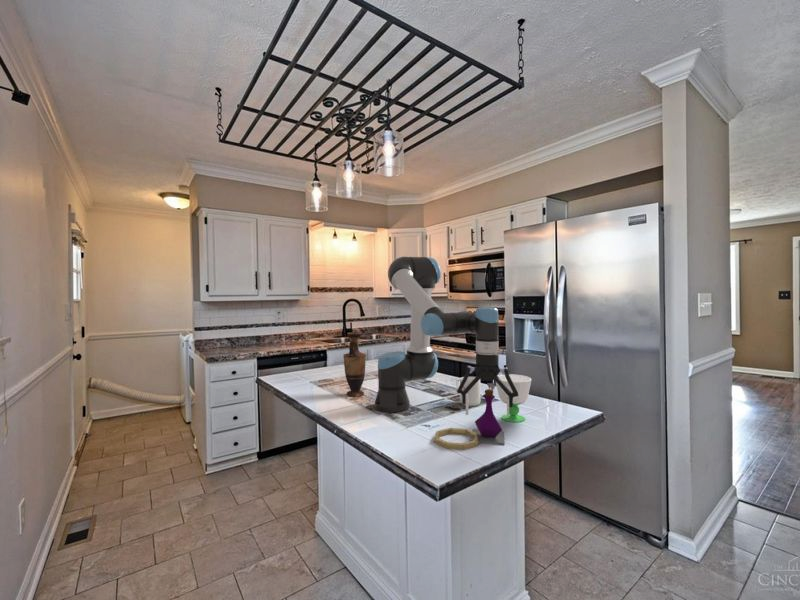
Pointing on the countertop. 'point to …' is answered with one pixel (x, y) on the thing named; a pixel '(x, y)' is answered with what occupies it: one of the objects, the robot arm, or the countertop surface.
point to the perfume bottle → (488, 416)
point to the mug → (470, 391)
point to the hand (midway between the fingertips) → (487, 415)
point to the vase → (354, 366)
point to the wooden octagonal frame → (456, 445)
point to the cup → (523, 388)
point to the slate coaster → (489, 438)
